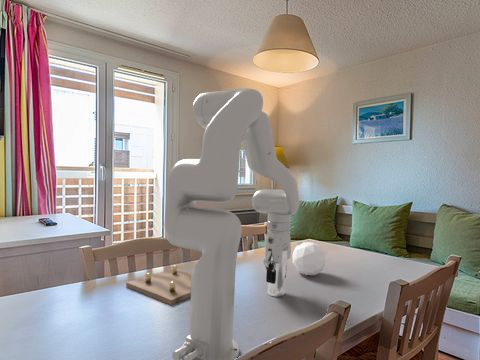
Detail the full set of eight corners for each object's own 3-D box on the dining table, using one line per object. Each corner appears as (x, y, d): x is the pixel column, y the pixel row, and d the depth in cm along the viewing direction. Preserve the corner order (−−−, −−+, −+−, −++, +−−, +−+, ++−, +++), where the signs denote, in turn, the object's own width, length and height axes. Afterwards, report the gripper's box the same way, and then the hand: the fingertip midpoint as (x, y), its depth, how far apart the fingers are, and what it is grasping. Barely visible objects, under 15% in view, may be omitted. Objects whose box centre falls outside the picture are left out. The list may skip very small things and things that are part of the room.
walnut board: (170, 305, 92) (171, 289, 92) (126, 286, 105) (126, 273, 105) (218, 285, 110) (219, 272, 110) (175, 271, 123) (175, 260, 123)
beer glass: (269, 298, 101) (271, 251, 100) (262, 290, 107) (264, 246, 107) (289, 296, 102) (291, 251, 102) (281, 288, 109) (283, 246, 109)
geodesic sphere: (284, 263, 120) (307, 236, 120) (281, 254, 134) (302, 230, 133) (313, 287, 120) (336, 260, 119) (307, 276, 134) (328, 251, 133)
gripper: (275, 231, 95) (273, 290, 96) (300, 225, 109) (297, 276, 110) (255, 228, 100) (252, 284, 100) (280, 222, 114) (278, 271, 114)
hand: (276, 279), depth 105 cm, fingers closed on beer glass, 6 cm apart
